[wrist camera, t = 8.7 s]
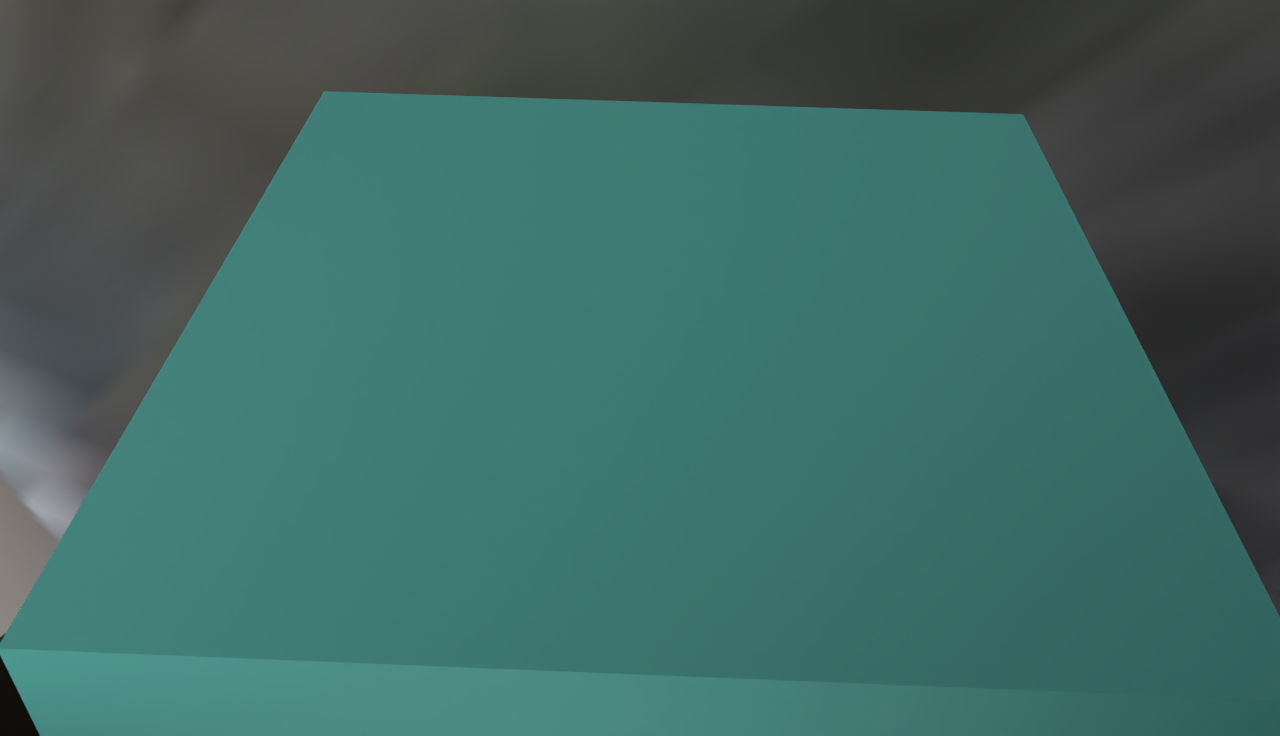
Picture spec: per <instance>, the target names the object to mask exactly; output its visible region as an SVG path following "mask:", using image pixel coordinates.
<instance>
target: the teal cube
mask: <svg viewBox="0 0 1280 736" xmlns="http://www.w3.org/2000/svg"><path fill="white" fill-rule="evenodd" d="M0 656H1V658H2V660H3V662H4V664H5V666H6V668H7V670H8V672H9V674H10V676H11V678H12V680H13V682H14V684H15V686H16V688H17V690H18V692H19V694H20V696H21V698H22V700H23V702H24V704H25V706H26V708H27V710H28V712H29V714H30V716H31V719H32V721H33V723H34V725H35V727H36V729H37V731H38V733H39V735H40V736H1280V616H1279V614H1278V612H1277V610H1276V608H1275V606H1274V604H1273V602H1272V601H1271V599H1270V597H1269V595H1268V593H1267V591H1266V589H1265V587H1264V585H1263V583H1262V581H1261V579H1260V577H1259V575H1258V573H1257V571H1256V569H1255V567H1254V565H1253V563H1252V561H1251V559H1250V557H1249V555H1248V554H1247V552H1246V550H1245V548H1244V546H1243V544H1242V542H1241V540H1240V538H1239V536H1238V534H1237V532H1236V530H1235V528H1234V526H1233V524H1232V522H1231V520H1230V518H1229V516H1228V514H1227V512H1226V510H1225V508H1224V507H1223V505H1222V503H1221V501H1220V499H1219V497H1218V495H1217V493H1216V491H1215V489H1214V487H1213V485H1212V483H1211V481H1210V479H1209V477H1208V475H1207V473H1206V471H1205V469H1204V467H1203V465H1202V463H1201V461H1200V460H1199V458H1198V456H1197V454H1196V452H1195V450H1194V448H1193V446H1192V444H1191V442H1190V440H1189V438H1188V436H1187V434H1186V432H1185V430H1184V428H1183V426H1182V424H1181V422H1180V420H1179V418H1178V416H1177V415H1176V413H1175V411H1174V409H1173V407H1172V405H1171V403H1170V401H1169V399H1168V397H1167V395H1166V393H1165V391H1164V389H1163V387H1162V385H1161V383H1160V381H1159V379H1158V377H1157V375H1156V373H1155V371H1154V369H1153V368H1152V366H1151V364H1150V362H1149V360H1148V358H1147V356H1146V354H1145V352H1144V350H1143V348H1142V346H1141V344H1140V342H1139V340H1138V338H1137V336H1136V334H1135V332H1134V330H1133V328H1132V326H1131V324H1130V322H1129V321H1128V319H1127V317H1126V315H1125V313H1124V311H1123V309H1122V307H1121V305H1120V303H1119V301H1118V299H1117V297H1116V295H1115V293H1114V291H1113V289H1112V287H1111V285H1110V283H1109V281H1108V279H1107V277H1106V275H1105V274H1104V272H1103V270H1102V268H1101V266H1100V264H1099V262H1098V260H1097V258H1096V256H1095V254H1094V252H1093V250H1092V248H1091V246H1090V244H1089V242H1088V240H1087V238H1086V236H1085V234H1084V232H1083V230H1082V229H1081V227H1080V225H1079V223H1078V221H1077V219H1076V217H1075V215H1074V213H1073V211H1072V209H1071V207H1070V205H1069V203H1068V201H1067V199H1066V197H1065V195H1064V193H1063V191H1062V189H1061V187H1060V185H1059V183H1058V182H1057V180H1056V178H1055V176H1054V174H1053V172H1052V170H1051V168H1050V166H1049V164H1048V162H1047V160H1046V158H1045V156H1044V154H1043V152H1042V150H1041V148H1040V146H1039V144H1038V142H1037V140H1036V138H1035V136H1034V135H1033V133H1032V131H1031V129H1030V127H1029V125H1028V123H1027V121H1026V119H1025V117H1024V115H1023V114H999V113H968V112H938V111H907V110H877V109H846V108H815V107H785V106H754V105H724V104H693V103H663V102H632V101H601V100H571V99H540V98H510V97H479V96H449V95H418V94H387V93H357V92H326V91H324V93H323V94H322V96H321V98H320V99H319V101H318V103H317V105H316V106H315V108H314V110H313V111H312V113H311V115H310V116H309V118H308V120H307V122H306V123H305V125H304V127H303V128H302V130H301V132H300V133H299V135H298V137H297V139H296V140H295V142H294V144H293V145H292V147H291V149H290V150H289V152H288V154H287V156H286V157H285V159H284V161H283V162H282V164H281V166H280V167H279V169H278V171H277V173H276V174H275V176H274V178H273V179H272V181H271V183H270V185H269V186H268V188H267V190H266V191H265V193H264V195H263V196H262V198H261V200H260V202H259V203H258V205H257V207H256V208H255V210H254V212H253V213H252V215H251V217H250V219H249V220H248V222H247V224H246V225H245V227H244V229H243V230H242V232H241V234H240V236H239V237H238V239H237V241H236V242H235V244H234V246H233V247H232V249H231V251H230V253H229V254H228V256H227V258H226V259H225V261H224V263H223V265H222V266H221V268H220V270H219V271H218V273H217V275H216V276H215V278H214V280H213V282H212V283H211V285H210V287H209V288H208V290H207V292H206V293H205V295H204V297H203V299H202V300H201V302H200V304H199V305H198V307H197V309H196V310H195V312H194V314H193V316H192V317H191V319H190V321H189V322H188V324H187V326H186V327H185V329H184V331H183V333H182V334H181V336H180V338H179V339H178V341H177V343H176V345H175V346H174V348H173V350H172V351H171V353H170V355H169V356H168V358H167V360H166V362H165V363H164V365H163V367H162V368H161V370H160V372H159V373H158V375H157V377H156V379H155V380H154V382H153V384H152V385H151V387H150V389H149V390H148V392H147V394H146V396H145V397H144V399H143V401H142V402H141V404H140V406H139V407H138V409H137V411H136V413H135V414H134V416H133V418H132V419H131V421H130V423H129V425H128V426H127V428H126V430H125V431H124V433H123V435H122V436H121V438H120V440H119V442H118V443H117V445H116V447H115V448H114V450H113V452H112V453H111V455H110V457H109V459H108V460H107V462H106V464H105V465H104V467H103V469H102V470H101V472H100V474H99V476H98V477H97V479H96V481H95V482H94V484H93V486H92V487H91V489H90V491H89V493H88V494H87V496H86V498H85V499H84V501H83V503H82V505H81V506H80V508H79V510H78V511H77V513H76V515H75V516H74V518H73V520H72V522H71V523H70V525H69V527H68V528H67V530H66V532H65V533H64V535H63V537H62V539H61V540H60V542H59V544H58V545H57V547H56V549H55V551H54V552H53V554H52V556H51V557H50V559H49V561H48V563H47V564H46V566H45V567H44V569H43V571H42V573H41V574H40V576H39V578H38V580H37V581H36V583H35V585H34V586H33V588H32V590H31V591H30V593H29V595H28V597H27V598H26V600H25V602H24V603H23V605H22V607H21V609H20V610H19V612H18V613H17V615H16V617H15V619H14V620H13V622H12V624H11V625H10V627H9V629H8V630H7V632H6V634H5V636H4V637H3V639H2V641H1V642H0Z"/></svg>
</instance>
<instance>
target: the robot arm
mask: <svg viewBox="0 0 1280 736" xmlns="http://www.w3.org/2000/svg"><path fill="white" fill-rule="evenodd" d="M5 634H6V633H5ZM5 634H4V635H2V636H1V637H0V642H1V641H2V639H3V637H4V636H5ZM0 736H40V735H39V733H38V731H37V729H36V727H35V725H34V723H33V721H32V719H31V716H30V714H29V712H28V710H27V708H26V706H25V704H24V702H23V700H22V698H21V696H20V694H19V692H18V690H17V688H16V686H15V684H14V682H13V680H12V678H11V676H10V674H9V672H8V670H7V668H6V666H5V664H4V662H3V660H2V658H1V656H0Z"/></svg>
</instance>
